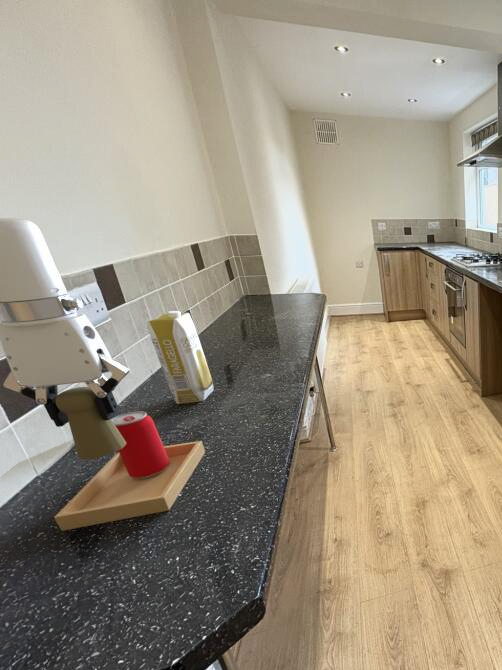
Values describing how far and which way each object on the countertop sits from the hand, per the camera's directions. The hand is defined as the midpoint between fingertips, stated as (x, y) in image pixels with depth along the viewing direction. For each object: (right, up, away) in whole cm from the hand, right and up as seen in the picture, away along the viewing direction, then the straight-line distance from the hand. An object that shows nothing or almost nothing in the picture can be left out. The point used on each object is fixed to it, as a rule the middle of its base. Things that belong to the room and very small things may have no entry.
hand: (88, 418), depth 67 cm
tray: (0, -14, +10) cm, 17 cm away
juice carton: (-18, +2, +46) cm, 50 cm away
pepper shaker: (0, -6, +2) cm, 6 cm away
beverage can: (-2, -12, +13) cm, 18 cm away
